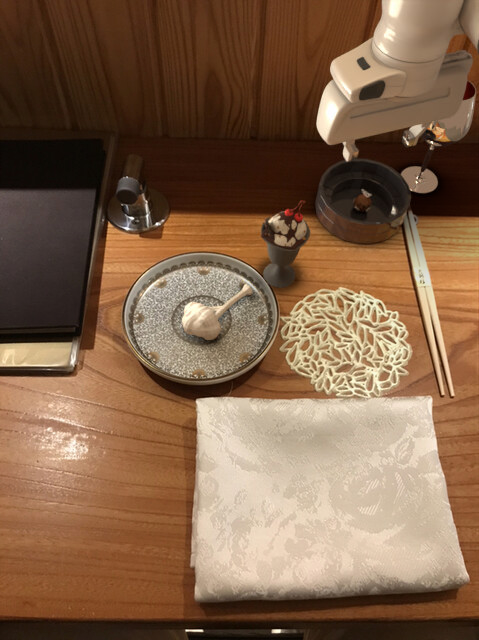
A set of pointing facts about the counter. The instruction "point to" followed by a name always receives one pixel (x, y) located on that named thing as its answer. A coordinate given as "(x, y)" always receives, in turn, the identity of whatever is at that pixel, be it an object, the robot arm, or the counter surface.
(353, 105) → the robot arm
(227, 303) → the garlic bulb
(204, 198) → the counter surface
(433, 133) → the wineglass
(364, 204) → the chocolate
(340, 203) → the bowl
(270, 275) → the sundae
